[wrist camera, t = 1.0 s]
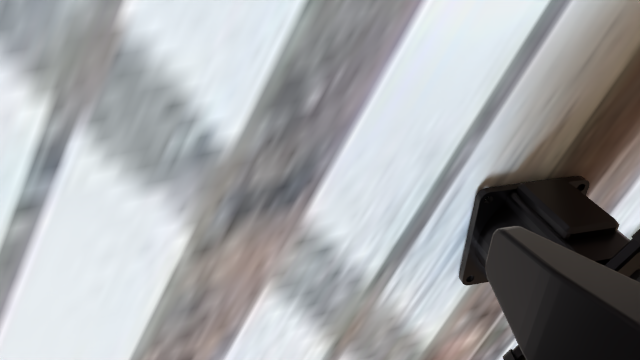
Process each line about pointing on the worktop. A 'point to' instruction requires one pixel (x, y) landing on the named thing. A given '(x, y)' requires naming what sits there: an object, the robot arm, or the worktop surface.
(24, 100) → the worktop surface
